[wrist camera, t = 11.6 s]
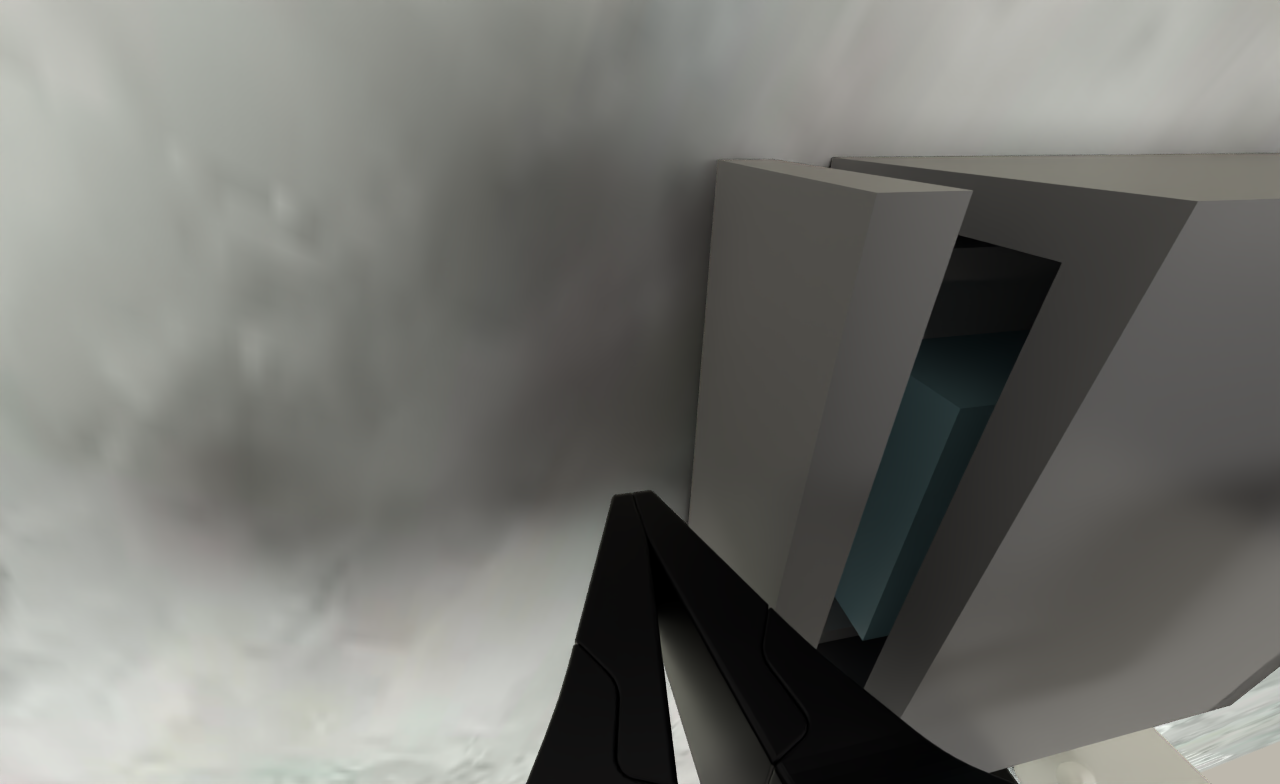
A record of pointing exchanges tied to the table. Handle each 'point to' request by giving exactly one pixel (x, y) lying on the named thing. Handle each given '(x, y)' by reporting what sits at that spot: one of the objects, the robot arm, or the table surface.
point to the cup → (1114, 763)
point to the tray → (825, 359)
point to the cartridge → (922, 470)
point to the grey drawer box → (1104, 465)
